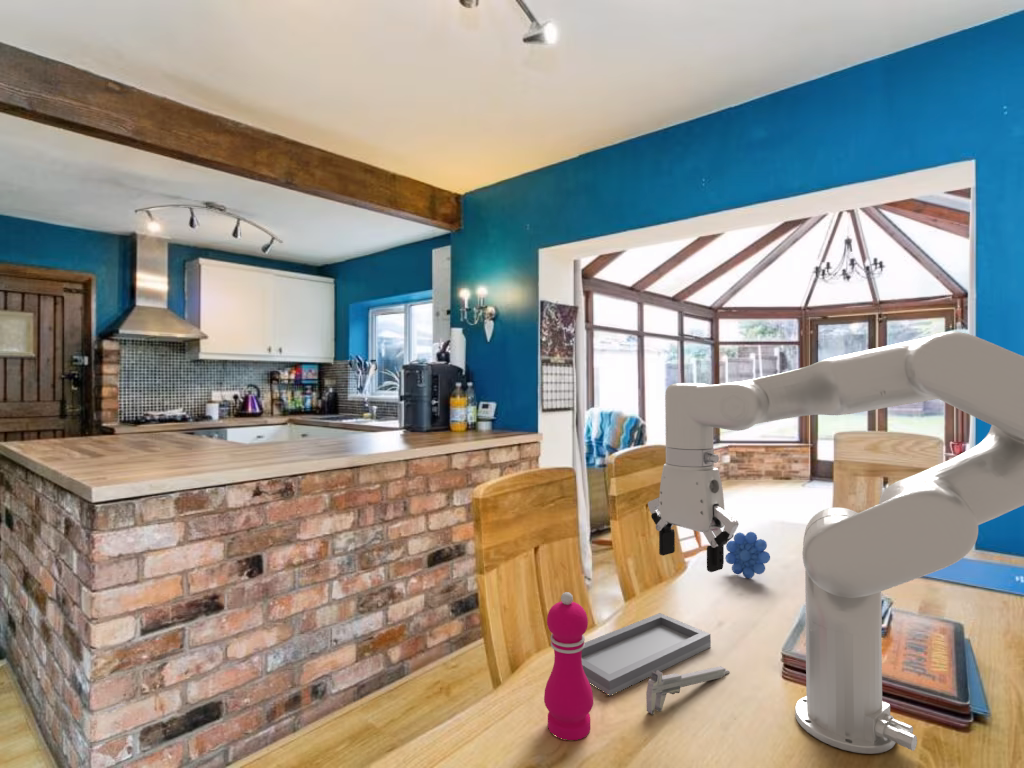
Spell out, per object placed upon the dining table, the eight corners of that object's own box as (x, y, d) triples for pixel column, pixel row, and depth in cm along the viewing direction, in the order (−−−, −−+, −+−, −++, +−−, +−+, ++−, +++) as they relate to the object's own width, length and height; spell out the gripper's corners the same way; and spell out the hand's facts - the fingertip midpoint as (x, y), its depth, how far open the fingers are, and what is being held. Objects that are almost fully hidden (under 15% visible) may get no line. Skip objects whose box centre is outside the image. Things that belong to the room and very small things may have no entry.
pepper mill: (589, 712, 85) (587, 582, 85) (598, 742, 78) (595, 601, 78) (542, 713, 85) (540, 584, 85) (547, 744, 78) (544, 603, 78)
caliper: (652, 718, 84) (651, 677, 84) (646, 714, 85) (645, 674, 85) (729, 674, 96) (729, 638, 96) (724, 671, 97) (723, 635, 97)
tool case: (710, 647, 105) (710, 634, 105) (609, 696, 89) (609, 681, 89) (660, 624, 115) (659, 612, 115) (561, 666, 99) (560, 652, 99)
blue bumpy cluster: (778, 580, 139) (777, 532, 139) (765, 586, 135) (764, 537, 134) (734, 568, 148) (734, 523, 148) (721, 574, 144) (720, 528, 144)
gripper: (750, 462, 86) (751, 572, 86) (664, 450, 100) (664, 544, 101) (720, 467, 82) (720, 582, 82) (634, 454, 96) (635, 552, 97)
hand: (689, 561), depth 91 cm, fingers open, 9 cm apart
